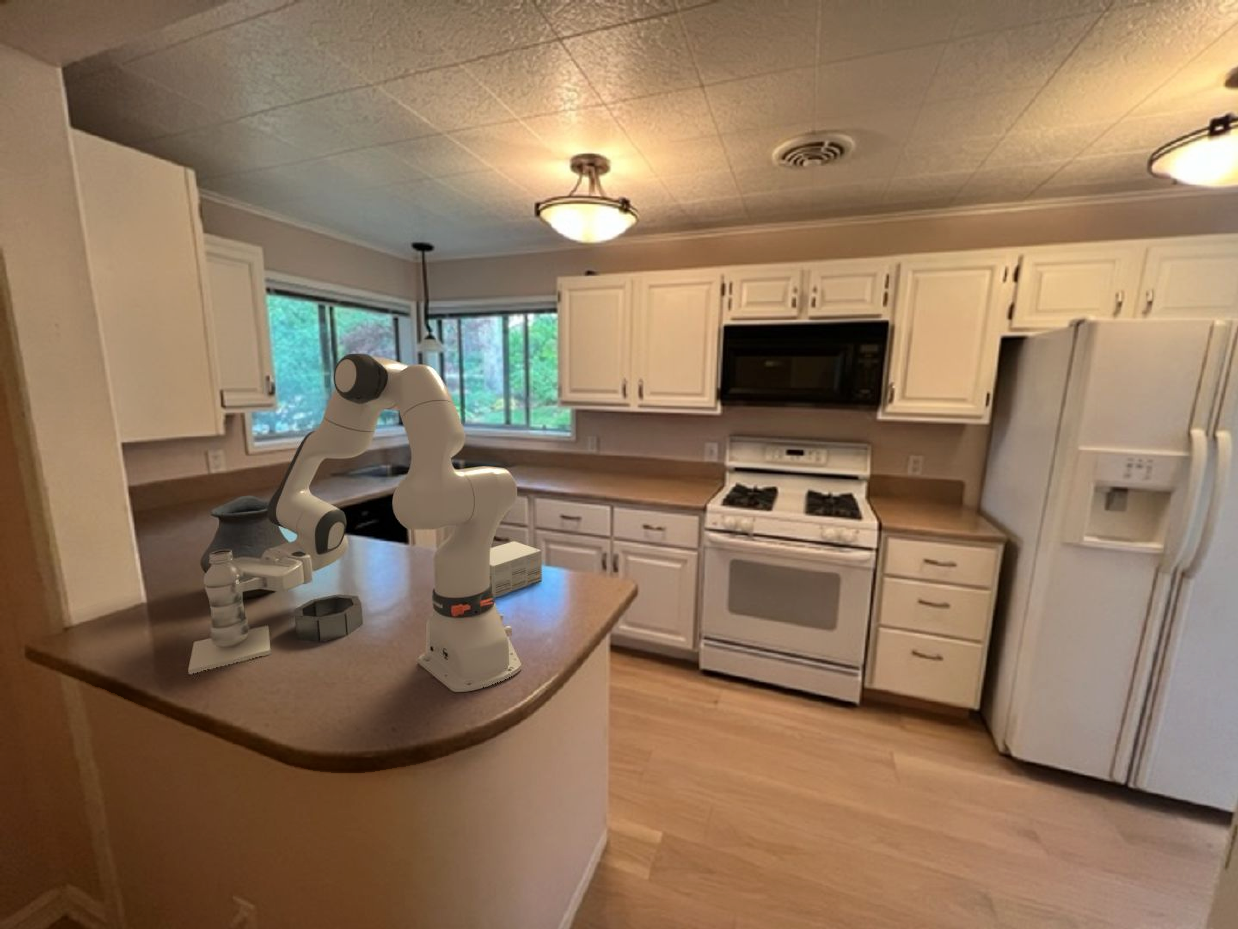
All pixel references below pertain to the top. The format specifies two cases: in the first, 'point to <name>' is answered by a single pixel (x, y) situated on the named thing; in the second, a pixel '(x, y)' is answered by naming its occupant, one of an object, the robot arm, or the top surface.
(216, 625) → the plastic bottle
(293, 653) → the top surface
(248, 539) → the dark grey clay pot
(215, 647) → the ceramic tile
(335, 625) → the metal ring
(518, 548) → the supplement box
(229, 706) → the top surface
